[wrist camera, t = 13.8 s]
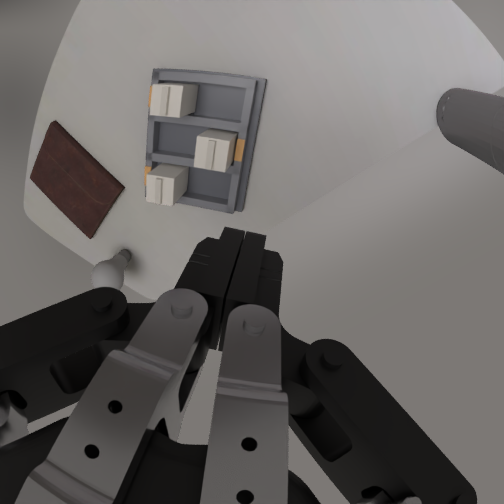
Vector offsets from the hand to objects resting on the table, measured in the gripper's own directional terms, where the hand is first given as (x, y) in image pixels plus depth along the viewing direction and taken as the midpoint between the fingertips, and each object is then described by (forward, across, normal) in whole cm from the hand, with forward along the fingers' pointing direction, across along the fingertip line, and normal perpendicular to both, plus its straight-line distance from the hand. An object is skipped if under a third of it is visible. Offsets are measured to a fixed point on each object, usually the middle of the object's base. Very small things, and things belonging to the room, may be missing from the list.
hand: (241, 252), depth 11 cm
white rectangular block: (+30, +7, +4) cm, 32 cm away
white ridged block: (+30, +14, -2) cm, 33 cm away
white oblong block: (+30, +14, +10) cm, 35 cm away
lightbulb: (+32, +24, +28) cm, 49 cm away
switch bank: (+32, +11, +4) cm, 34 cm away
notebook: (+33, +36, +14) cm, 51 cm away
